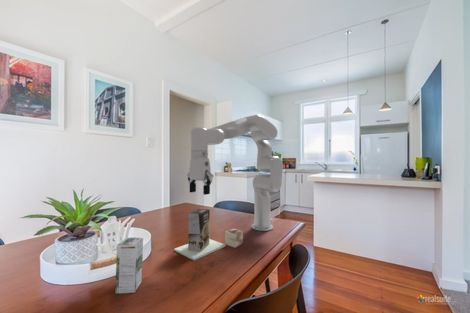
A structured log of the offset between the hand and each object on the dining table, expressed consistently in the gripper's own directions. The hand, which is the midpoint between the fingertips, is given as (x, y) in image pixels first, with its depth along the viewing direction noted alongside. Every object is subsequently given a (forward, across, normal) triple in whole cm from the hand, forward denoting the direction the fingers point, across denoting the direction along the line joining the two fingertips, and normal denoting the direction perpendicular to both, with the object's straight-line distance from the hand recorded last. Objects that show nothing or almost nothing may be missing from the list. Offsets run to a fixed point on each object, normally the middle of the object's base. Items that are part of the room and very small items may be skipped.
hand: (199, 193), depth 92 cm
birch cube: (+25, -8, -14) cm, 30 cm away
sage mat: (+25, 0, 0) cm, 25 cm away
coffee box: (+24, 0, 0) cm, 24 cm away
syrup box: (+25, -6, +33) cm, 41 cm away
